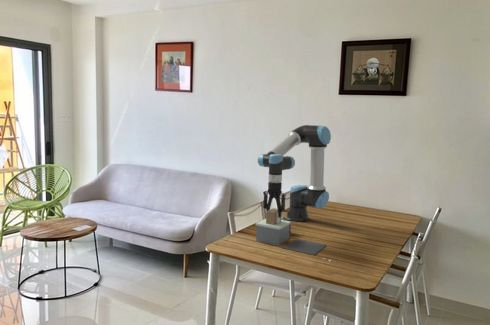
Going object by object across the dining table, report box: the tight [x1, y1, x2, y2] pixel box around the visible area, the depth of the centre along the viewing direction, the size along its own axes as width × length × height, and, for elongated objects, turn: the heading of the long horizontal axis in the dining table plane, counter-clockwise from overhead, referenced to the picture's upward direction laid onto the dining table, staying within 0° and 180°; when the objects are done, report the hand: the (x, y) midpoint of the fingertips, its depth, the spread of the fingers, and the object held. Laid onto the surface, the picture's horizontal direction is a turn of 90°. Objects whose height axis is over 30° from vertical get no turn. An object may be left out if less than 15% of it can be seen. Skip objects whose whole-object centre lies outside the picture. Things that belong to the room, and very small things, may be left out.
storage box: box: [255, 224, 290, 246], centre depth 225 cm, size 14×14×9 cm
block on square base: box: [255, 207, 292, 230], centre depth 224 cm, size 15×15×10 cm
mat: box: [282, 238, 327, 256], centre depth 214 cm, size 18×18×1 cm
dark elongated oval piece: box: [281, 215, 292, 235], centre depth 237 cm, size 9×3×11 cm, turn 109°
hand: (273, 221), depth 224 cm, fingers closed on block on square base, 5 cm apart
